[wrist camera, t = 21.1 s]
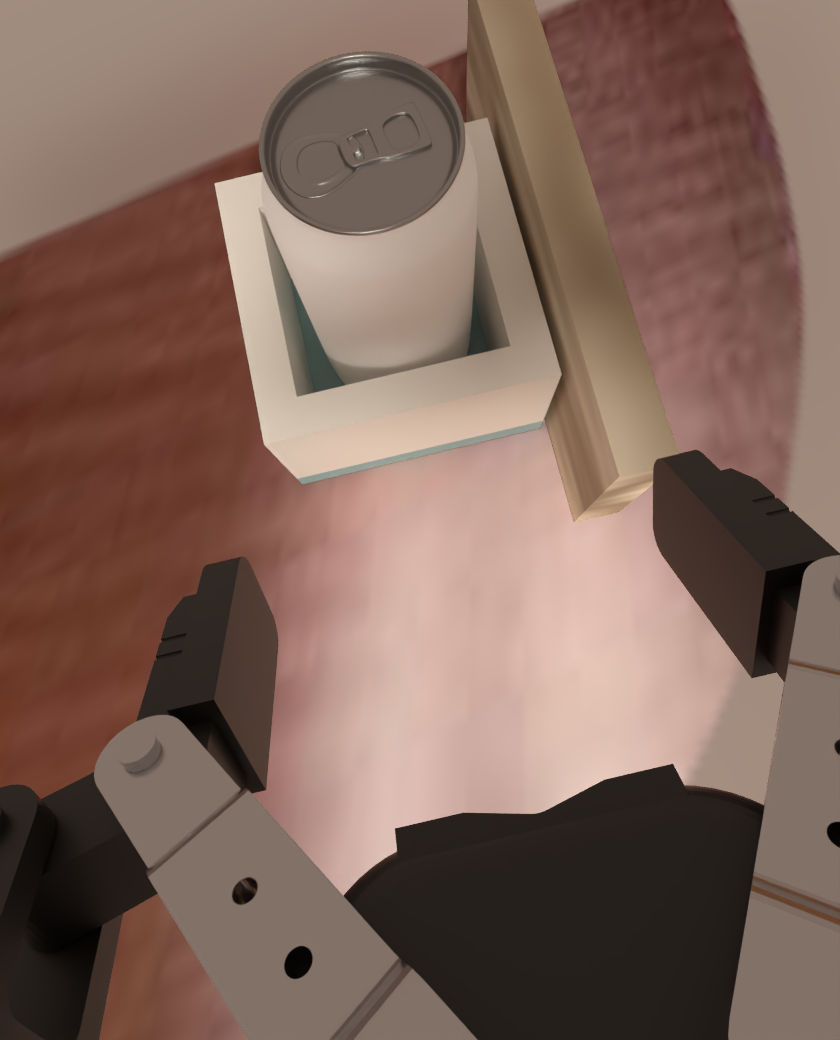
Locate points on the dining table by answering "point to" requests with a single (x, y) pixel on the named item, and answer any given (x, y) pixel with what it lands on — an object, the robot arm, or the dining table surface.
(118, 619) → the dining table surface
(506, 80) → the stop board
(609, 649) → the dining table surface
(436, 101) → the can
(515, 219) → the socket block
